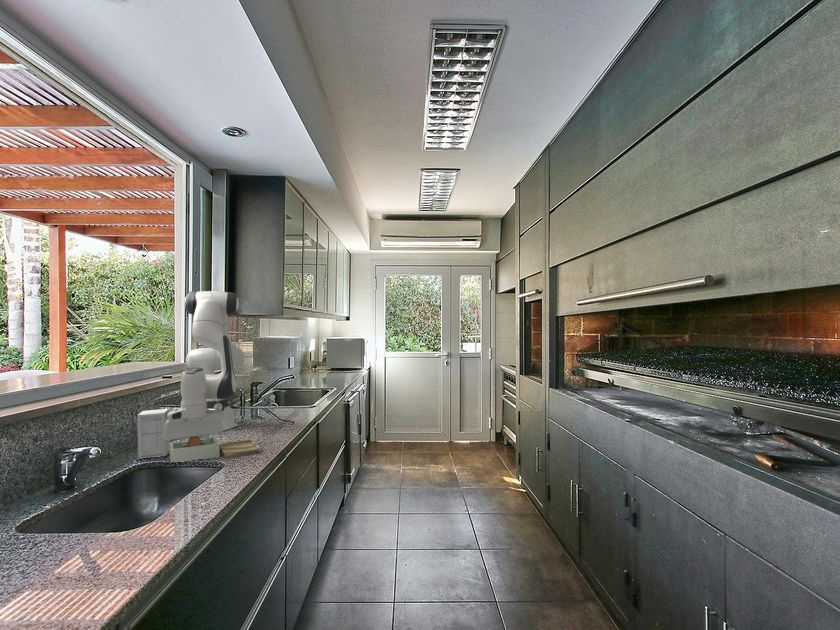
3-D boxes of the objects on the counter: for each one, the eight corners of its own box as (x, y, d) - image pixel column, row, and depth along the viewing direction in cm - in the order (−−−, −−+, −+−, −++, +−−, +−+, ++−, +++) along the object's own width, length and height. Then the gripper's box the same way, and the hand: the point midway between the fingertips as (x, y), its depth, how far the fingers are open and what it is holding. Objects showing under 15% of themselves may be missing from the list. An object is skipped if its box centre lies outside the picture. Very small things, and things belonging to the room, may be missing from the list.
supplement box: (170, 451, 182) (170, 408, 183) (166, 457, 174) (166, 412, 174) (142, 453, 179) (142, 410, 179) (137, 460, 170) (136, 414, 171)
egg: (204, 454, 176) (204, 433, 176) (198, 458, 171) (198, 437, 171) (190, 454, 176) (190, 434, 176) (184, 458, 171) (183, 437, 171)
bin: (169, 456, 174) (169, 443, 175) (215, 449, 183) (215, 437, 183) (170, 464, 164) (170, 450, 164) (219, 456, 172) (219, 443, 172)
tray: (218, 447, 186) (218, 443, 186) (252, 442, 192) (252, 439, 192) (224, 458, 170) (224, 454, 170) (261, 452, 177) (261, 448, 177)
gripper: (222, 407, 182) (223, 442, 181) (163, 413, 171) (163, 450, 171) (224, 409, 176) (225, 445, 176) (163, 415, 166) (163, 454, 166)
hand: (194, 448), depth 173 cm, fingers closed on egg, 5 cm apart
